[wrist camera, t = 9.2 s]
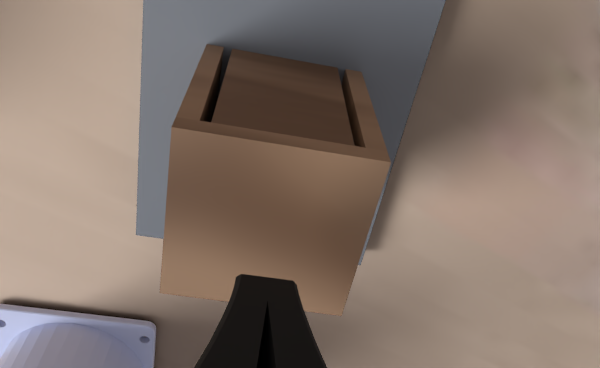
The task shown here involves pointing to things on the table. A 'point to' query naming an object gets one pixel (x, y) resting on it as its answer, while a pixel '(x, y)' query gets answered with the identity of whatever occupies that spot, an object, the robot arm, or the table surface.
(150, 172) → the post base
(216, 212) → the sliding lid crate
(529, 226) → the table surface
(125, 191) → the table surface
